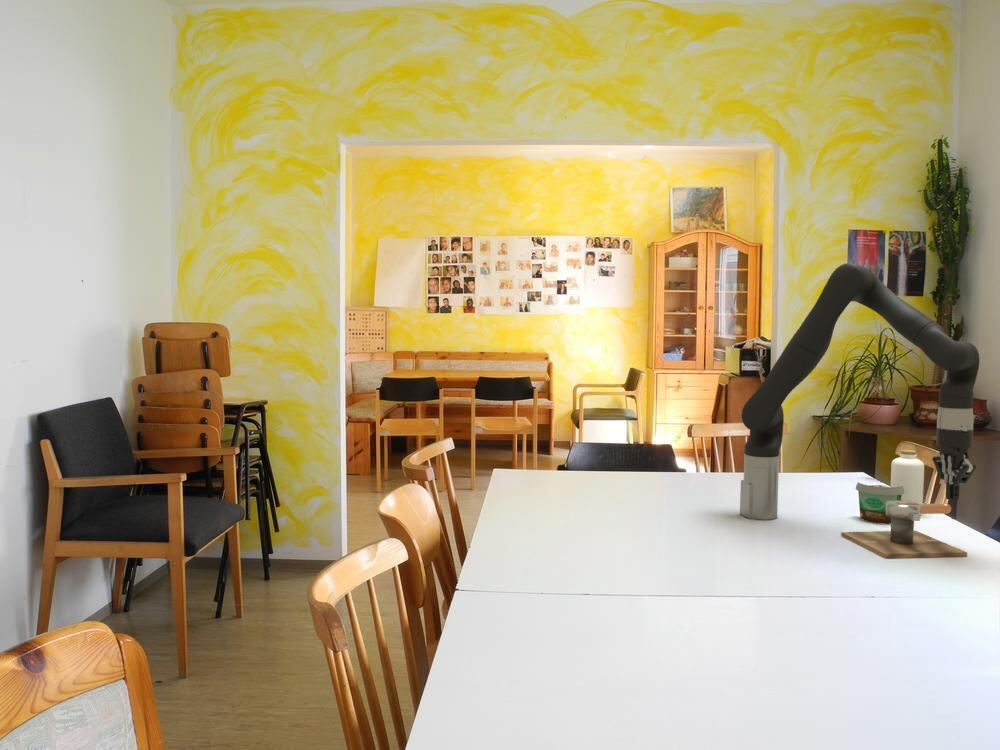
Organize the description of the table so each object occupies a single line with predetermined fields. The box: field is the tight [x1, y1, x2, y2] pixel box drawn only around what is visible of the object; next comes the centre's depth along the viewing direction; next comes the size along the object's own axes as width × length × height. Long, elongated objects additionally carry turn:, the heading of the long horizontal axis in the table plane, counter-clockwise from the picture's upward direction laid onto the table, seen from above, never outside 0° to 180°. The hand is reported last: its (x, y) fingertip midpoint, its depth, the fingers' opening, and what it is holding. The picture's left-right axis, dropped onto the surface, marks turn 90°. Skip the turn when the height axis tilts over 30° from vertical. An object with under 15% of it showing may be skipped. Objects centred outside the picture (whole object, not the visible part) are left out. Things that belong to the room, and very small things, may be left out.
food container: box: [855, 481, 905, 524], centre depth 228 cm, size 12×6×10 cm, turn 62°
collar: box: [885, 501, 952, 522], centre depth 204 cm, size 16×11×3 cm
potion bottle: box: [890, 449, 925, 504], centre depth 237 cm, size 8×8×18 cm
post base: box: [840, 518, 968, 559], centre depth 203 cm, size 20×20×7 cm
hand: (952, 499), depth 198 cm, fingers closed
